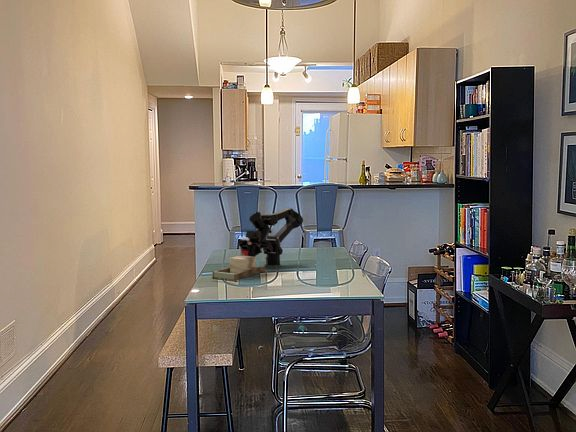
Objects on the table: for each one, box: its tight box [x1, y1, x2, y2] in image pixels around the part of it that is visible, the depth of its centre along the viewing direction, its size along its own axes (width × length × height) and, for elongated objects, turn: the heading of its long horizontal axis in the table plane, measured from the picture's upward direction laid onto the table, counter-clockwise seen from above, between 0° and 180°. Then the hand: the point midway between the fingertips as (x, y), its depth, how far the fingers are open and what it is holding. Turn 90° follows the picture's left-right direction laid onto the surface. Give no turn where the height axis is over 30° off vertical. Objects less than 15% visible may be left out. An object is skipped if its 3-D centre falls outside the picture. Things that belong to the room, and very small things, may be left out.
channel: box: [212, 265, 266, 283], centre depth 273 cm, size 23×14×4 cm, turn 146°
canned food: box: [240, 237, 251, 256], centre depth 320 cm, size 8×8×11 cm
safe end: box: [213, 272, 235, 283], centre depth 267 cm, size 10×14×4 cm
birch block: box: [229, 255, 257, 274], centre depth 275 cm, size 8×10×8 cm
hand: (248, 259), depth 278 cm, fingers closed, pressing on birch block
